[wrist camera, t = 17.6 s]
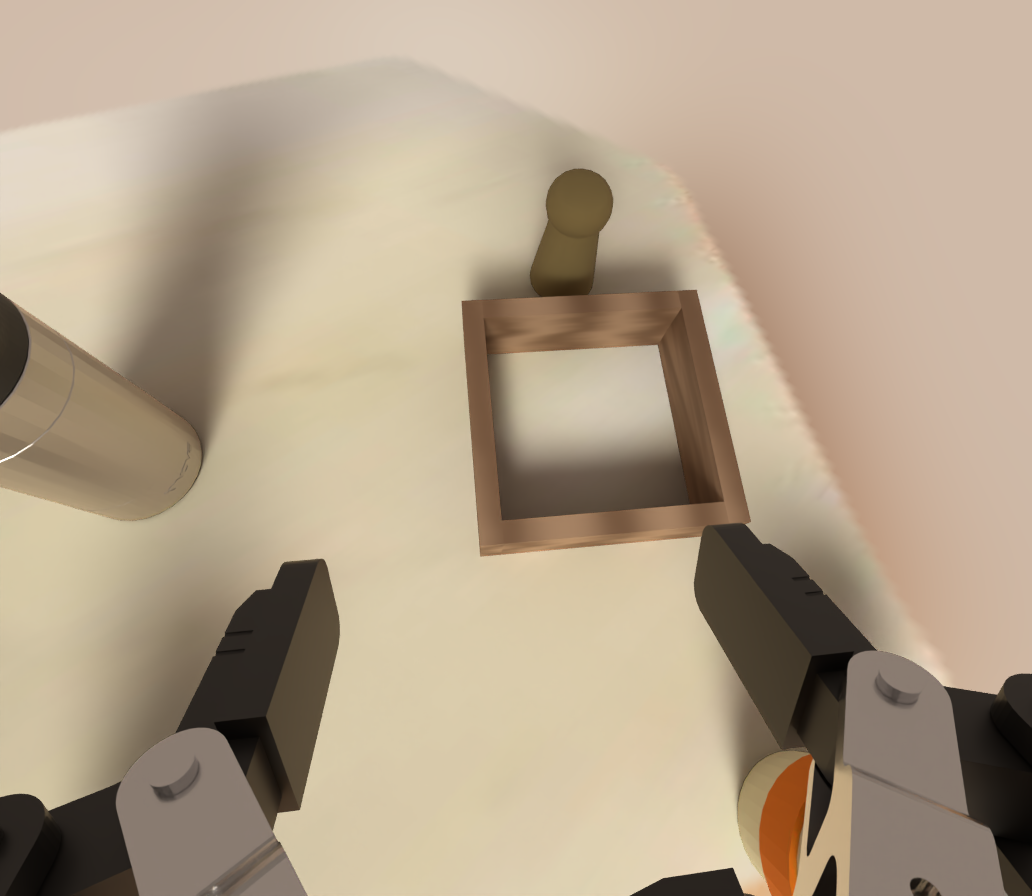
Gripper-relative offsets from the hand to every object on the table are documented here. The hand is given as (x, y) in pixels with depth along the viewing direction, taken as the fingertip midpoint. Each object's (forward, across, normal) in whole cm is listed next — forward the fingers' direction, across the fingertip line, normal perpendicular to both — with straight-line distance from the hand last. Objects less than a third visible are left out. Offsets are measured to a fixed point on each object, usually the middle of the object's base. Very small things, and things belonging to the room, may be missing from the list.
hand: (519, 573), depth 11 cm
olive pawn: (+42, -9, +1) cm, 43 cm away
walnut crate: (+31, -9, +12) cm, 35 cm away
